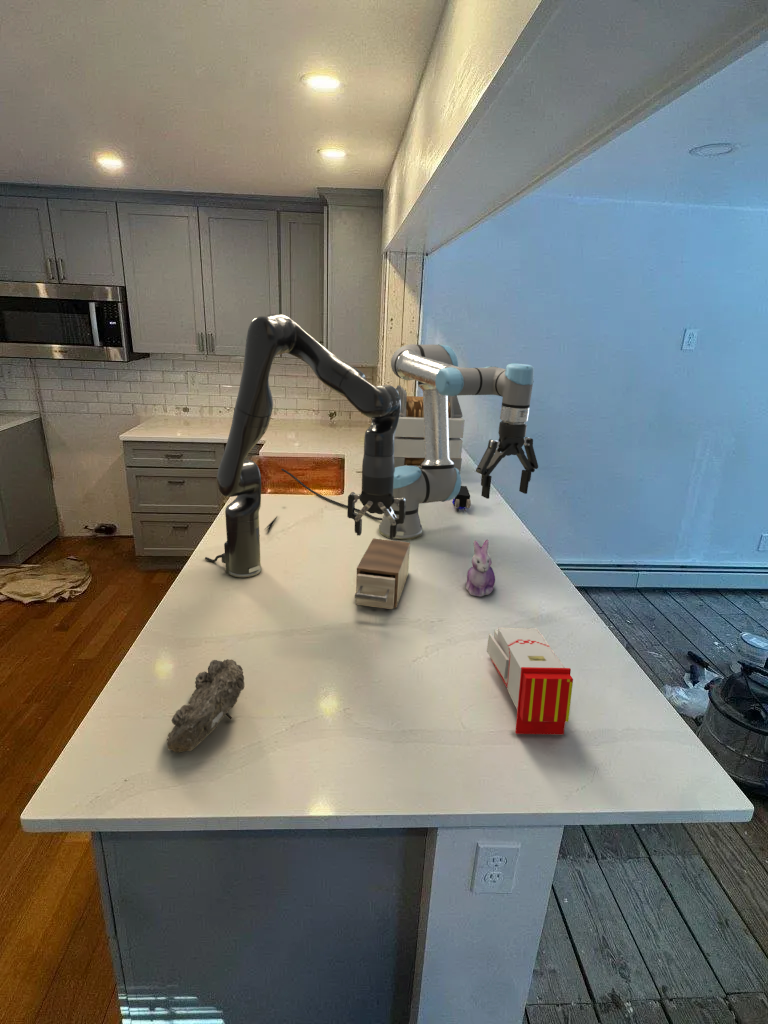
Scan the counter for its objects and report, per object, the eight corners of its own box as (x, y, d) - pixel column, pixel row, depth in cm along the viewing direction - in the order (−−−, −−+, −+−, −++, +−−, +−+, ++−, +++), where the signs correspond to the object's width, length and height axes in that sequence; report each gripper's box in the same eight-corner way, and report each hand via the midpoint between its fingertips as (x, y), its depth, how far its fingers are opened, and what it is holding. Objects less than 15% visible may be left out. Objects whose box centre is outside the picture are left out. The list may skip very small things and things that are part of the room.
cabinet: (396, 608, 150) (398, 573, 147) (355, 602, 152) (356, 567, 149) (408, 574, 170) (410, 542, 166) (371, 569, 172) (373, 538, 168)
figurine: (477, 600, 156) (482, 550, 151) (456, 584, 164) (460, 537, 159) (504, 594, 160) (510, 545, 155) (482, 579, 168) (487, 532, 163)
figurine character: (470, 516, 223) (465, 500, 237) (473, 499, 220) (467, 484, 233) (453, 516, 223) (449, 500, 236) (455, 498, 220) (451, 483, 233)
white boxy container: (382, 463, 289) (386, 382, 275) (445, 464, 293) (451, 384, 279) (390, 482, 257) (394, 392, 243) (460, 483, 261) (468, 394, 247)
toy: (534, 612, 132) (582, 675, 102) (529, 665, 135) (574, 741, 105) (482, 611, 131) (516, 674, 102) (478, 664, 134) (510, 740, 105)
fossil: (192, 660, 117) (244, 628, 112) (224, 691, 120) (276, 661, 115) (142, 746, 98) (202, 712, 93) (182, 779, 101) (242, 748, 96)
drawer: (389, 620, 143) (390, 590, 140) (350, 615, 144) (351, 585, 141) (404, 576, 166) (406, 550, 163) (371, 572, 168) (372, 546, 165)
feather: (285, 510, 221) (287, 506, 220) (266, 535, 194) (269, 530, 194) (281, 507, 221) (283, 503, 220) (262, 532, 194) (265, 527, 193)
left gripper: (344, 473, 131) (343, 538, 137) (405, 479, 129) (401, 545, 134) (352, 465, 138) (350, 527, 144) (410, 470, 136) (406, 534, 141)
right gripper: (484, 426, 148) (476, 503, 155) (557, 422, 159) (546, 494, 166) (468, 421, 154) (461, 495, 162) (539, 417, 165) (529, 486, 172)
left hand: (375, 536), depth 139 cm, fingers open, 7 cm apart
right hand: (504, 494), depth 164 cm, fingers open, 13 cm apart
